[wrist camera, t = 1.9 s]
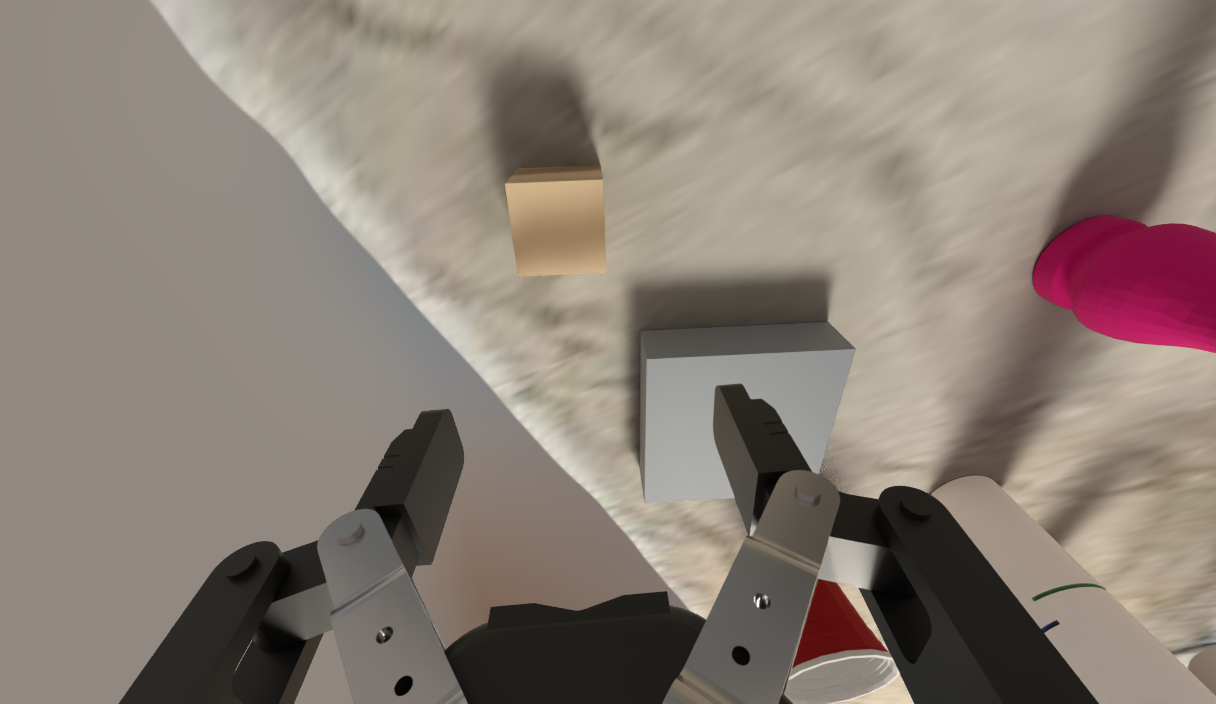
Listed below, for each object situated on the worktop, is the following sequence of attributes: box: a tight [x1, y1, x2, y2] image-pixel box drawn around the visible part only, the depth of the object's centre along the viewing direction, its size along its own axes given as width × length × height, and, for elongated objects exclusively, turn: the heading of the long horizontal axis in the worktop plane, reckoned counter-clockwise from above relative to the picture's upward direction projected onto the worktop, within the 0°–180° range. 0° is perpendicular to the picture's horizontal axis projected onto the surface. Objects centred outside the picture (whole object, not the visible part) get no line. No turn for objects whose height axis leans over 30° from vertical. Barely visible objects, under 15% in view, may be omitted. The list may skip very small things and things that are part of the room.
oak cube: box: [505, 165, 606, 276], centre depth 26 cm, size 5×5×5 cm
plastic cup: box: [784, 579, 900, 704], centre depth 43 cm, size 11×11×12 cm
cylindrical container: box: [931, 475, 1216, 704], centre depth 34 cm, size 7×7×25 cm
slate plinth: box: [640, 322, 856, 503], centre depth 35 cm, size 14×14×4 cm
